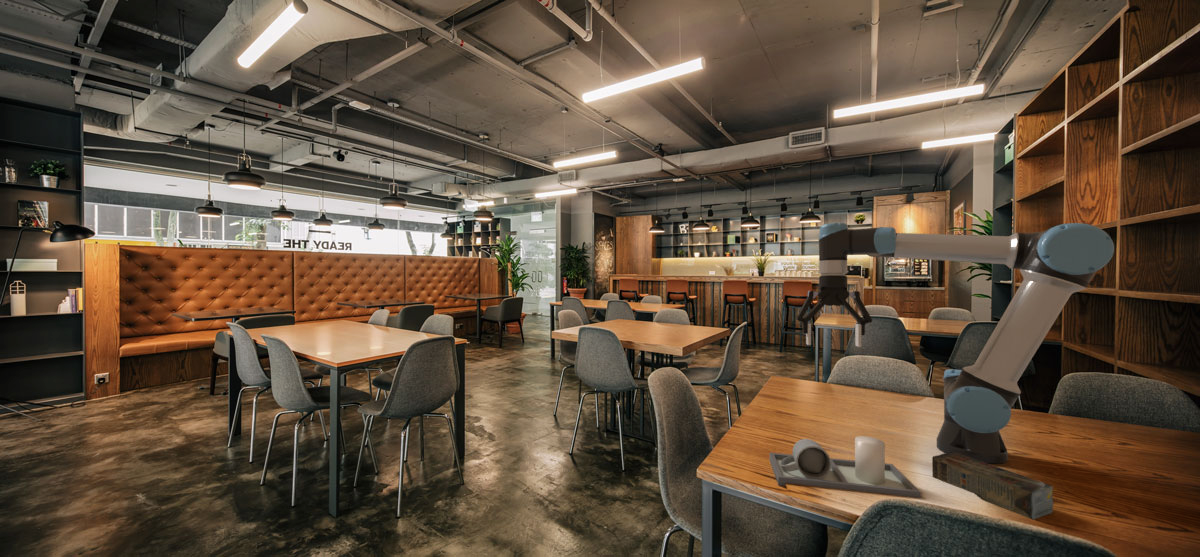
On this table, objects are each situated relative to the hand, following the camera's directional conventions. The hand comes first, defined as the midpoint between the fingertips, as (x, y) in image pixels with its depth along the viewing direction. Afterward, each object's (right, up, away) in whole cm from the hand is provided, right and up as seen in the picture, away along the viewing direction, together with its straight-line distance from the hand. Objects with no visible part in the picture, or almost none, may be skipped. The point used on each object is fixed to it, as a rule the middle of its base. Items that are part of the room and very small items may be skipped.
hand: (833, 345), depth 129 cm
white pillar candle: (-6, -28, -27) cm, 39 cm away
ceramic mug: (-20, -28, -23) cm, 41 cm away
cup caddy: (-12, -28, -25) cm, 40 cm away
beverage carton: (+17, -29, -33) cm, 47 cm away
